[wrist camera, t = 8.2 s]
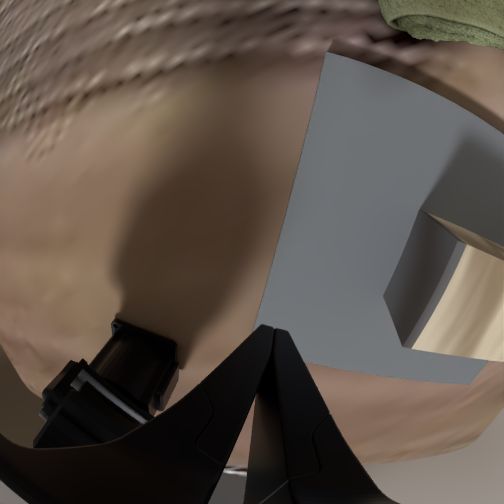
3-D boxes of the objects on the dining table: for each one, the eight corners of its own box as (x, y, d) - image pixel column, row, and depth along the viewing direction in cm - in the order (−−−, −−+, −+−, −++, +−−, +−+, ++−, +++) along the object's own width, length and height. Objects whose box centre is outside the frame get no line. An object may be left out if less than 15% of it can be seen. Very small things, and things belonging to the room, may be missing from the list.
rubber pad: (250, 337, 22) (248, 348, 20) (324, 56, 13) (326, 51, 12) (465, 376, 20) (469, 384, 19) (559, 187, 12) (568, 190, 11)
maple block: (402, 347, 13) (509, 362, 12) (457, 240, 10) (554, 286, 9) (382, 295, 17) (482, 321, 16) (418, 209, 15) (516, 253, 14)
